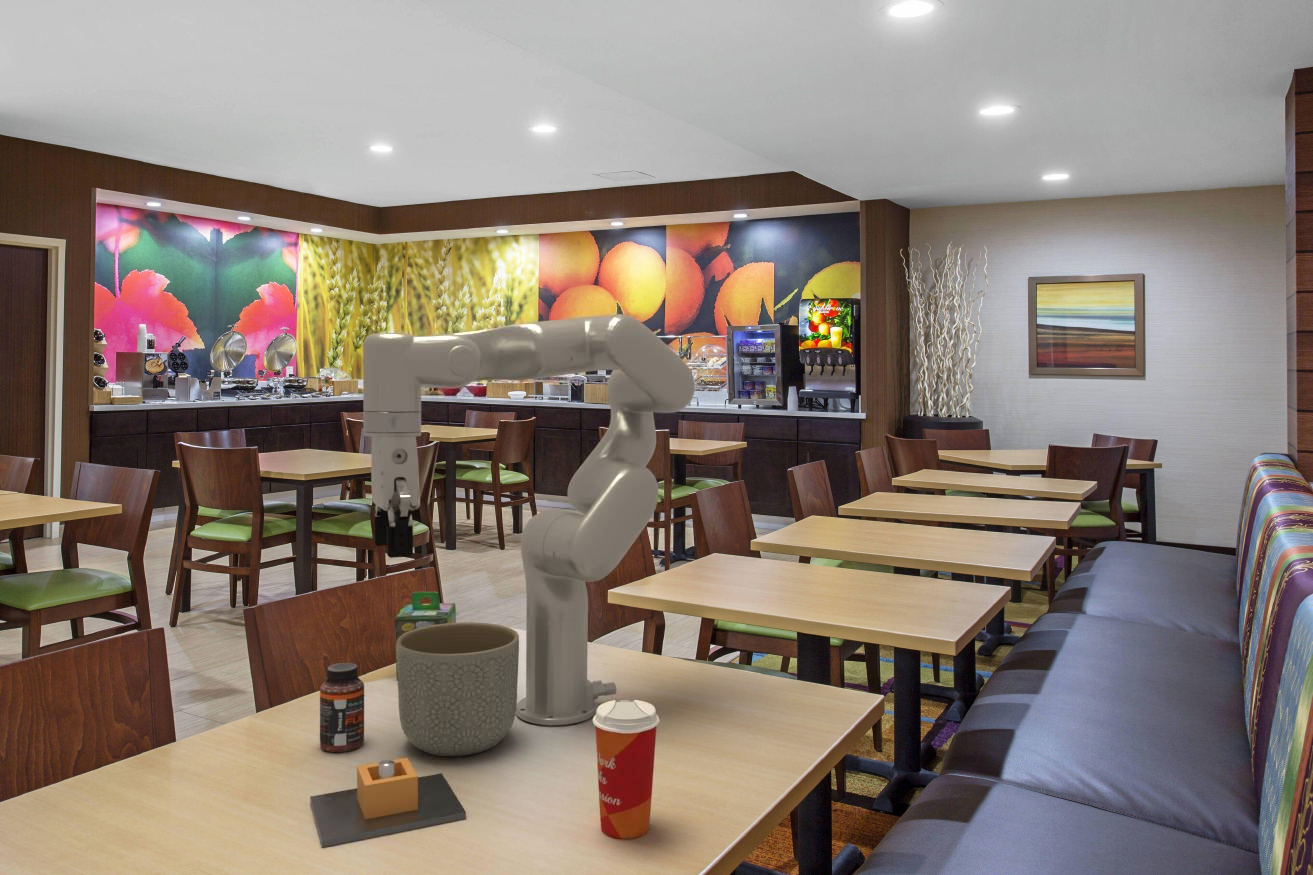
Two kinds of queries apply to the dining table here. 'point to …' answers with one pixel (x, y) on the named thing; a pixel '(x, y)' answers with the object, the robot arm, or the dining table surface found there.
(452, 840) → the dining table surface
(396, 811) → the orange square collar
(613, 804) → the paper cup
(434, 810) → the keeper plate
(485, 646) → the planter
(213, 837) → the dining table surface
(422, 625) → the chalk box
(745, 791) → the dining table surface
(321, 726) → the supplement bottle
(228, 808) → the dining table surface
